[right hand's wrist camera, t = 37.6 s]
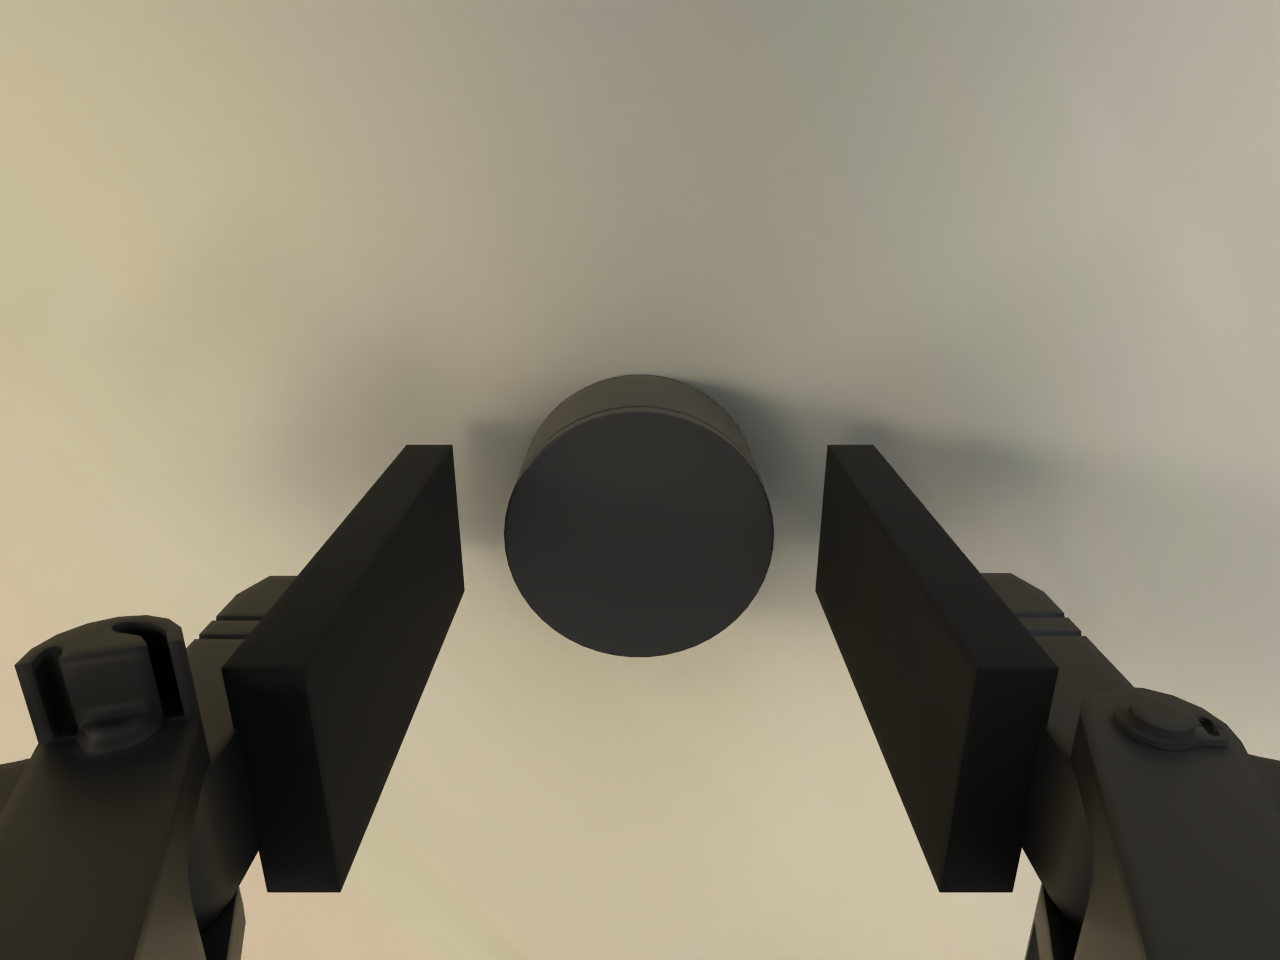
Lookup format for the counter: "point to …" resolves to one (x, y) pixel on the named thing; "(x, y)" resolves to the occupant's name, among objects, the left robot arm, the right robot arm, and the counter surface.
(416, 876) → the counter surface
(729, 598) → the cap
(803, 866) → the counter surface
